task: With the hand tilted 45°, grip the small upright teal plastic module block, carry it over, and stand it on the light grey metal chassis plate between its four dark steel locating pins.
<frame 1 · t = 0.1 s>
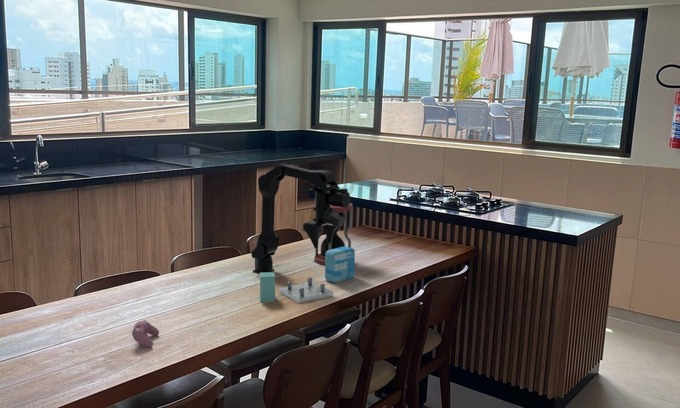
hand: (322, 245, 228), 15 cm above the table, tool pointing down, fingers open, 9 cm apart
chassis: (305, 294, 218), on the table
module box: (267, 299, 212), on the table
hourglass: (332, 261, 262), on the table
video game controller: (145, 342, 175), on the table
blue printed box: (339, 279, 236), on the table
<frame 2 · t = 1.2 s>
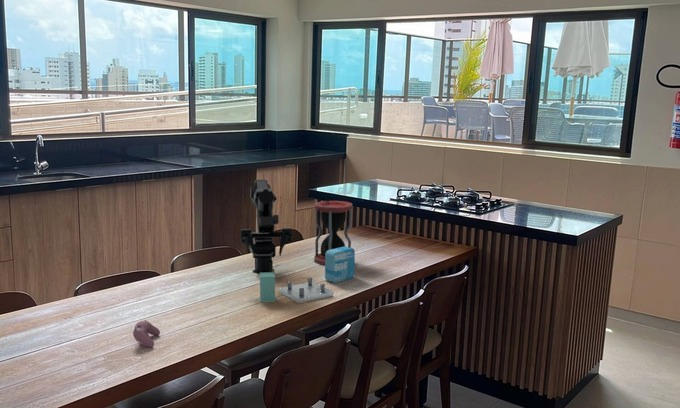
hand: (267, 255, 218), 13 cm above the table, tool tilted 45°, fingers open, 9 cm apart
nothing on the table moved.
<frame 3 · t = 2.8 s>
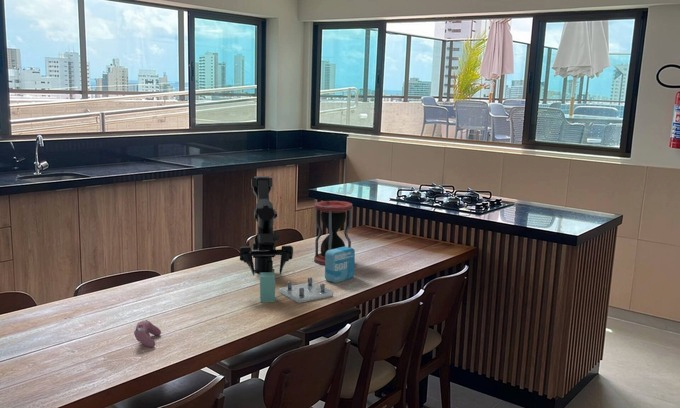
hand: (267, 274, 211), 9 cm above the table, tool tilted 45°, fingers open, 9 cm apart
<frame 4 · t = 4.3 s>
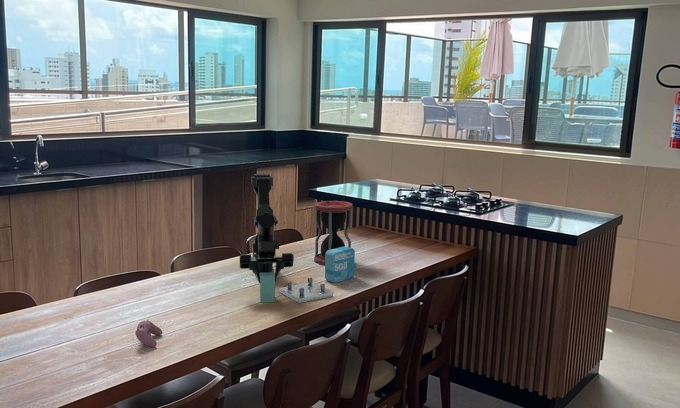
hand: (267, 282, 209), 7 cm above the table, tool tilted 45°, fingers closed on module box, 5 cm apart
module box: (267, 299, 211), on the table, touching gripper
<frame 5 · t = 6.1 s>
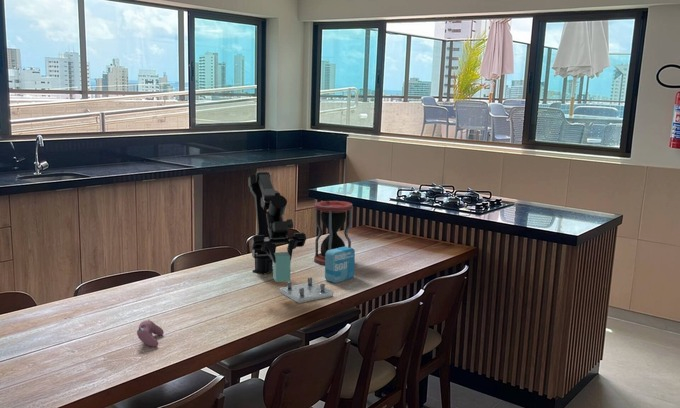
hand: (282, 261, 209), 13 cm above the table, tool tilted 45°, fingers closed on module box, 5 cm apart
module box: (281, 279, 212), point 7 cm above the table, touching gripper
when the fingers open (9 cm above the table, at t = 8.2 s): module box drops 1 cm, resting on chassis.
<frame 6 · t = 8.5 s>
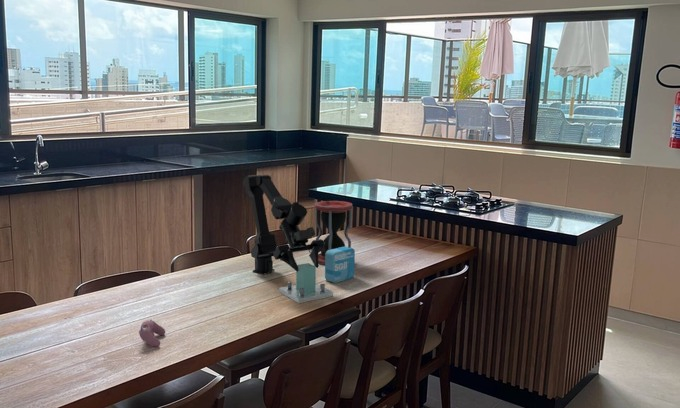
hand: (307, 269, 215), 10 cm above the table, tool tilted 45°, fingers open, 8 cm apart
module box: (305, 290, 217), point 1 cm above the table, touching chassis
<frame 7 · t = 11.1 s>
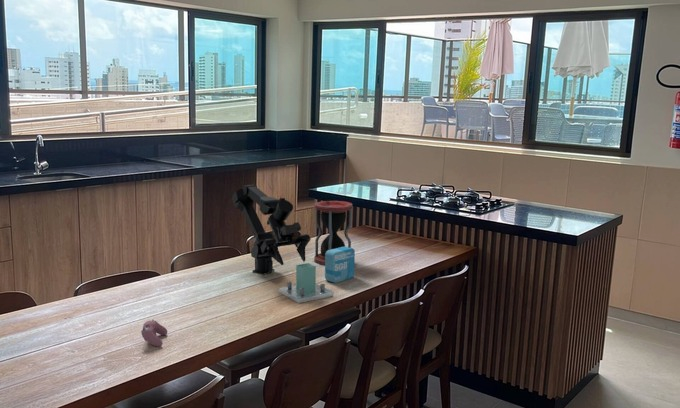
hand: (293, 262, 223), 10 cm above the table, tool tilted 45°, fingers open, 9 cm apart
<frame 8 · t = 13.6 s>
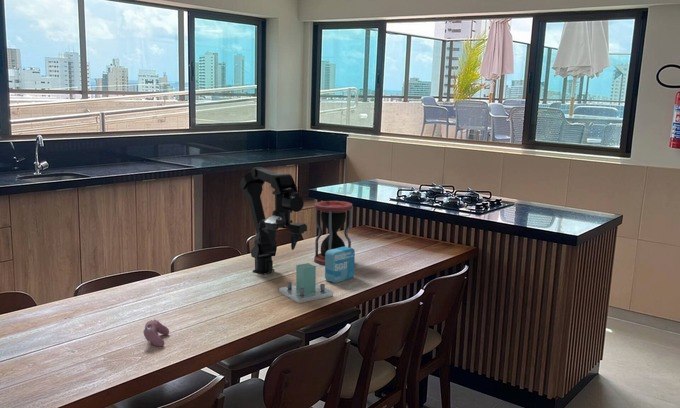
hand: (282, 247, 230), 13 cm above the table, tool pointing down, fingers open, 9 cm apart
at the end: module box 0.0 cm off-centre on the chassis, point 1.5 cm above the chassis's base; module box tilted 0°; the gripper is holding nothing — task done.
